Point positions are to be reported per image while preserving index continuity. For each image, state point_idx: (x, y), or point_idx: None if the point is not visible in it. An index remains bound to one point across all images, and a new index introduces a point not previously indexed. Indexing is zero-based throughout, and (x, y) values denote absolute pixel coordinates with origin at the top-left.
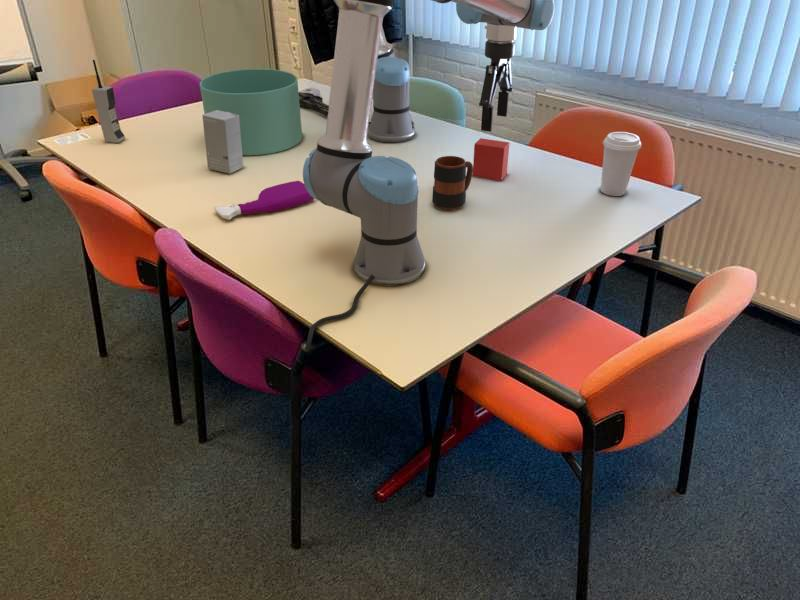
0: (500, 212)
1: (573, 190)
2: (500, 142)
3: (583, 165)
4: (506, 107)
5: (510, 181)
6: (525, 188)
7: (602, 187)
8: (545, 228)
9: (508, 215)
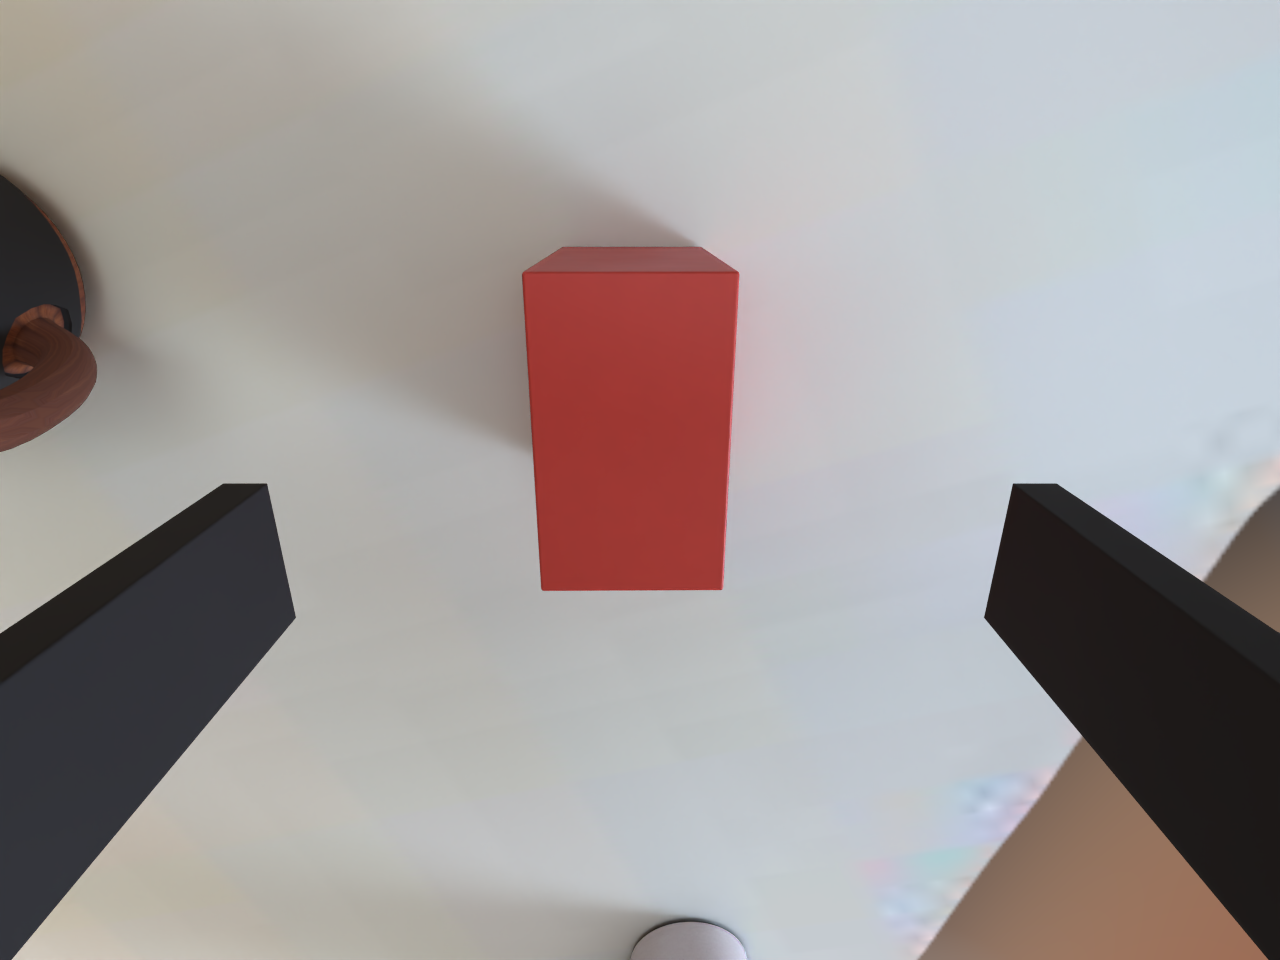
0: None
1: (625, 828)
2: (685, 515)
3: (1009, 806)
4: (1063, 705)
5: None
6: (529, 626)
7: (652, 955)
8: None
9: None
